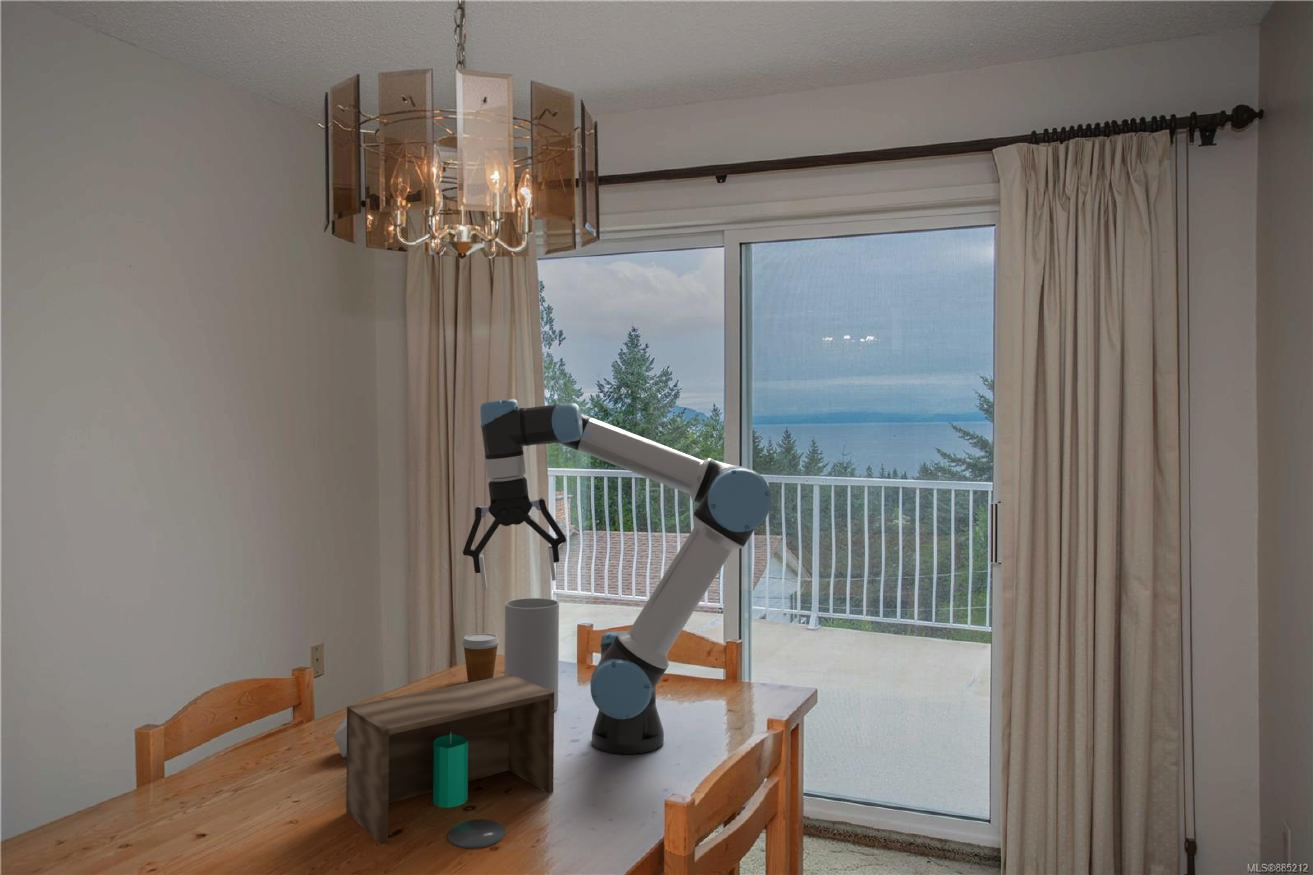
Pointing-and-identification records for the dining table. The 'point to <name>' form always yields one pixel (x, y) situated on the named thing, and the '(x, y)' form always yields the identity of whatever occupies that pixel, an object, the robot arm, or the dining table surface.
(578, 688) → the dining table surface
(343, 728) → the die
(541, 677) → the cylinder vase
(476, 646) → the disposable coffee cup
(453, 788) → the candle
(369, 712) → the cubby
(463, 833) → the coaster
